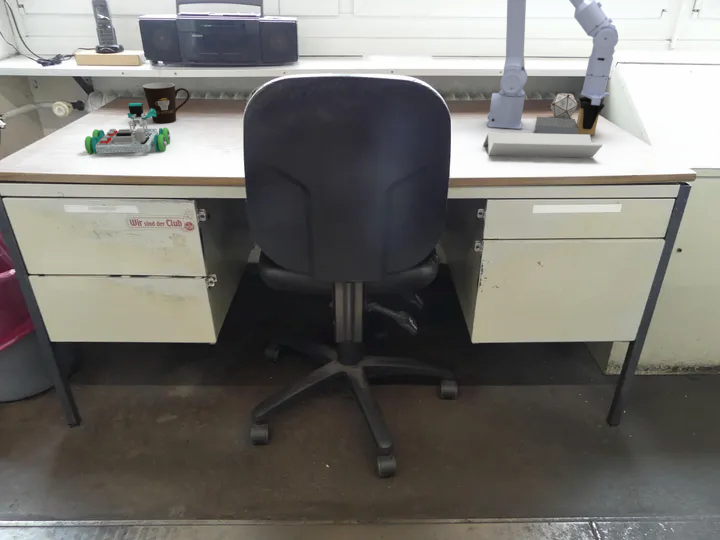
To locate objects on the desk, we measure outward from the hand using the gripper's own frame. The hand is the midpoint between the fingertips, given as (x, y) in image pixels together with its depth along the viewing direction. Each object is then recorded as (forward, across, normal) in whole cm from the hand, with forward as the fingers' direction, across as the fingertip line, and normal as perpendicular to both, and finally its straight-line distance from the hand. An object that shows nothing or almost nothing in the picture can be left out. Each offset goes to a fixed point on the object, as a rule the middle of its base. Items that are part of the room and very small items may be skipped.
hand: (585, 126), depth 148 cm
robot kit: (+3, -42, +114) cm, 121 cm away
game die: (+2, +16, +5) cm, 17 cm away
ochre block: (+2, 0, 0) cm, 2 cm away
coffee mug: (+2, -20, +117) cm, 119 cm away
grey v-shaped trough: (+2, -23, +13) cm, 27 cm away
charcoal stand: (+2, -6, +8) cm, 11 cm away
